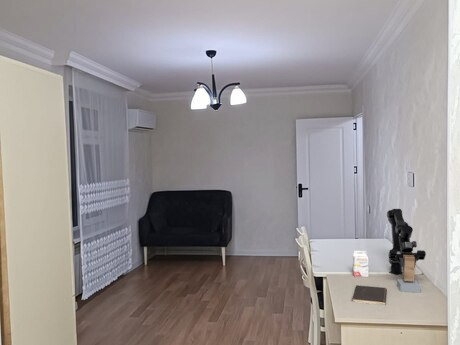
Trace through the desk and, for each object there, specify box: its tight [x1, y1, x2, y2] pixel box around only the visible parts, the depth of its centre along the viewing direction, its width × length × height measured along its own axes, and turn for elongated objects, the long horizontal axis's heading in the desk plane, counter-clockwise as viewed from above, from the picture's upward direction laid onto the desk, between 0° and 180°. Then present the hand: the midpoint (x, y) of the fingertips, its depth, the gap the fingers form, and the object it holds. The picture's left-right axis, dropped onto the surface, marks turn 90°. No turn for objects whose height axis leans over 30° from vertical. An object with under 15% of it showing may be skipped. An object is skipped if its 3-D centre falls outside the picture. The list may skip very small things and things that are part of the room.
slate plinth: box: [396, 278, 421, 293], centre depth 250 cm, size 10×10×4 cm
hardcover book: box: [351, 285, 388, 306], centre depth 239 cm, size 16×23×2 cm
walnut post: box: [402, 255, 416, 281], centre depth 250 cm, size 5×5×13 cm
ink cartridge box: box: [352, 250, 370, 278], centre depth 277 cm, size 9×5×15 cm, turn 84°
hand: (409, 268), depth 248 cm, fingers closed on walnut post, 5 cm apart
